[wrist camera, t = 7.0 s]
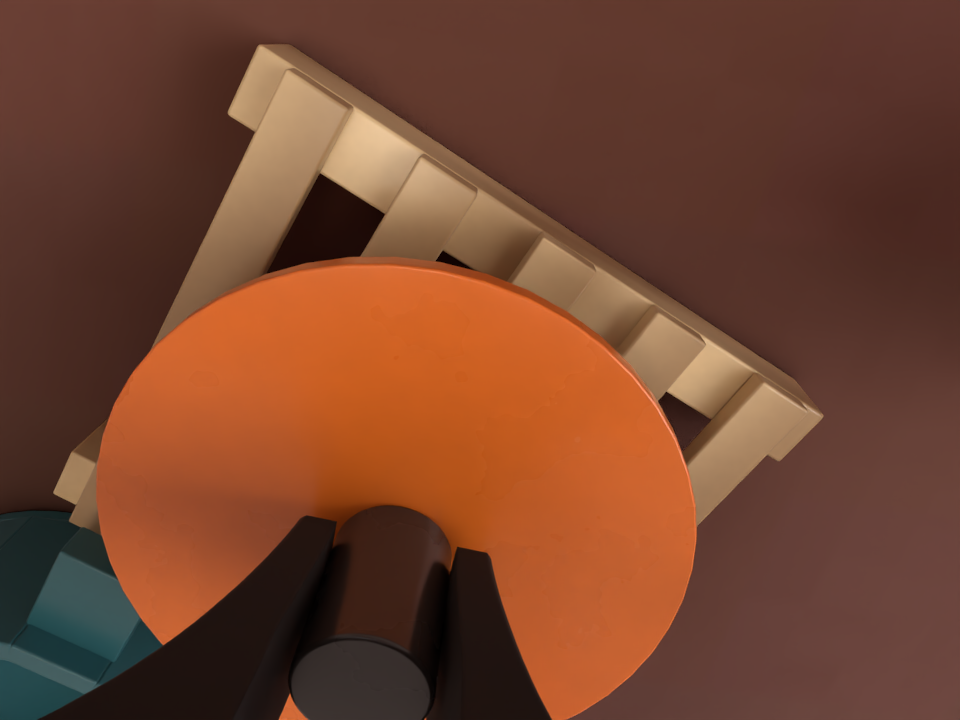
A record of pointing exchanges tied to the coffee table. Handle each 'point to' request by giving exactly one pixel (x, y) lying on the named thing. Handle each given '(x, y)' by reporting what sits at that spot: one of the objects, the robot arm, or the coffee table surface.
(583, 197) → the coffee table surface
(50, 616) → the pot
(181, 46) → the coffee table surface
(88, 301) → the coffee table surface
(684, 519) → the lid
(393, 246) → the rack
